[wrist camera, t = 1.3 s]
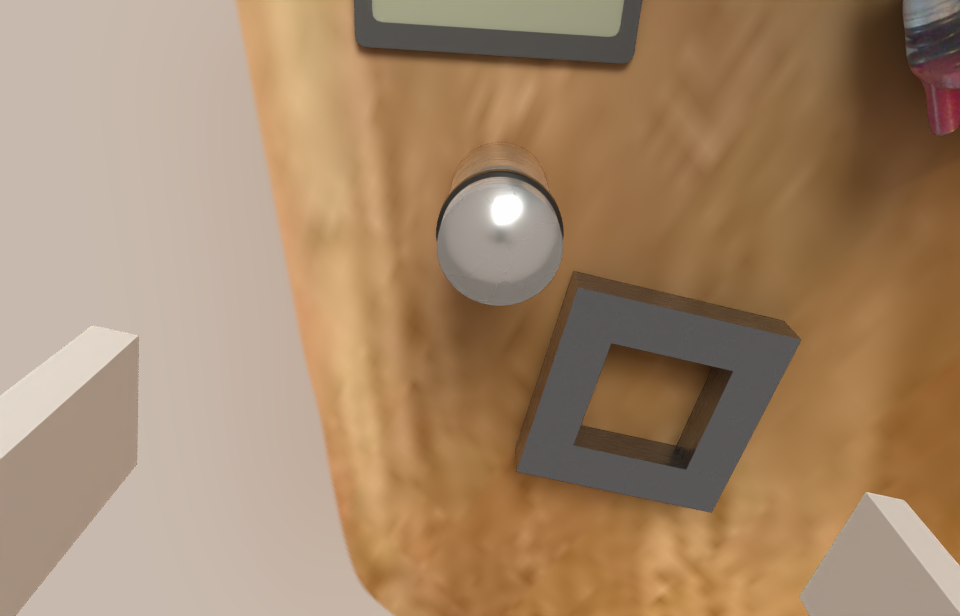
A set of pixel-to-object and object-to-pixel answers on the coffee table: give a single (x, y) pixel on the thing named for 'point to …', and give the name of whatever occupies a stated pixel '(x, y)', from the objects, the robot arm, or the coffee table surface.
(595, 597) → the coffee table surface
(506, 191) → the piston
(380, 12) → the calculator
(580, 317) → the bore plate
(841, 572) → the robot arm
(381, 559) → the coffee table surface
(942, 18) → the brake caliper
